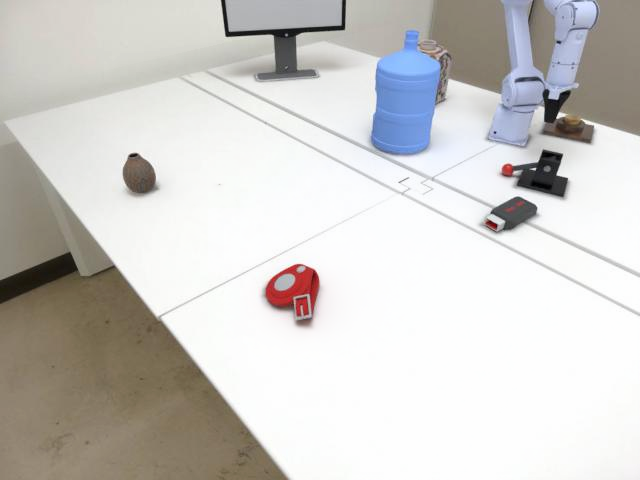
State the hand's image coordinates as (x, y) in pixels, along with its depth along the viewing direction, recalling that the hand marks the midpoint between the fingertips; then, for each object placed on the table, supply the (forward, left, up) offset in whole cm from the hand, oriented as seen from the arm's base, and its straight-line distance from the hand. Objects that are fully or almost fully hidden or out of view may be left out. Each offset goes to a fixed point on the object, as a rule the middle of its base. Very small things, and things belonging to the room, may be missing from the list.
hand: (549, 122), depth 109 cm
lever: (0, -11, -8) cm, 14 cm away
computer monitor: (-89, +23, -11) cm, 93 cm away
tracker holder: (-28, -71, -11) cm, 77 cm away
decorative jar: (-39, +24, -11) cm, 47 cm away
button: (+5, +22, -8) cm, 24 cm away
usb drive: (-1, -29, -11) cm, 31 cm away
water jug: (-34, -7, -11) cm, 36 cm away
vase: (-77, -58, -11) cm, 97 cm away
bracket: (+3, -11, -11) cm, 15 cm away
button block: (+5, +22, -11) cm, 25 cm away
